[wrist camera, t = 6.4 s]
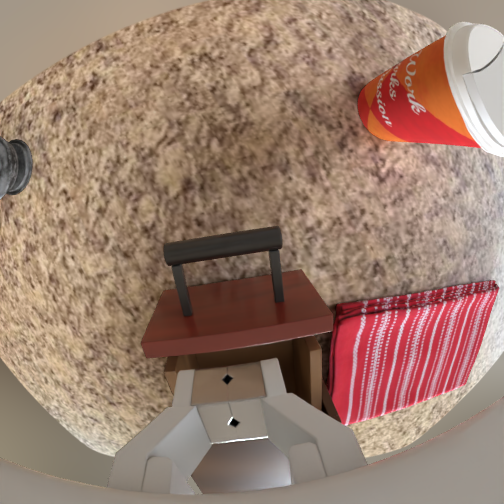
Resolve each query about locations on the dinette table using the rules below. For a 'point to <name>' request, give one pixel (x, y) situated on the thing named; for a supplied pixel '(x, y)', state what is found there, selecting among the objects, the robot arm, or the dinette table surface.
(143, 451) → the robot arm
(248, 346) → the drawer
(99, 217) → the dinette table surface
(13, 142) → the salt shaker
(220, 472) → the cabinet
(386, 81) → the paper cup
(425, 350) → the dish towel
